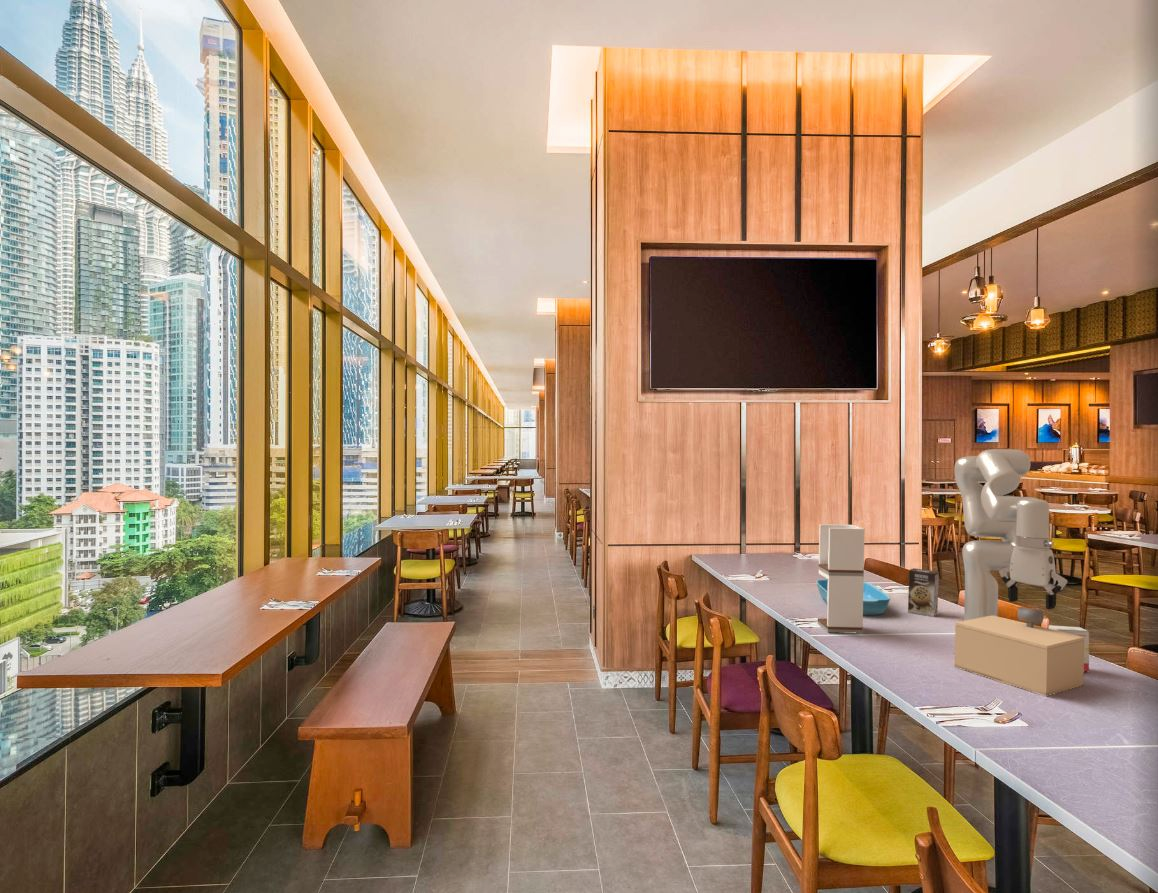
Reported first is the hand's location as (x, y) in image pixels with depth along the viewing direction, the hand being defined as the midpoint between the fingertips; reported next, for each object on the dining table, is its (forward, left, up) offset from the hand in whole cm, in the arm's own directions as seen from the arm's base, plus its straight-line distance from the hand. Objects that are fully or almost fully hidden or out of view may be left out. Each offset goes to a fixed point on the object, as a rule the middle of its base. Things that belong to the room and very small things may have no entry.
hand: (1031, 604), depth 186 cm
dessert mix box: (-33, -55, -19) cm, 68 cm away
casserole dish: (-18, -75, -20) cm, 80 cm away
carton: (+6, 0, -19) cm, 20 cm away
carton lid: (+6, 0, -7) cm, 9 cm away
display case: (+13, -54, -19) cm, 59 cm away
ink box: (-14, +3, -19) cm, 24 cm away
